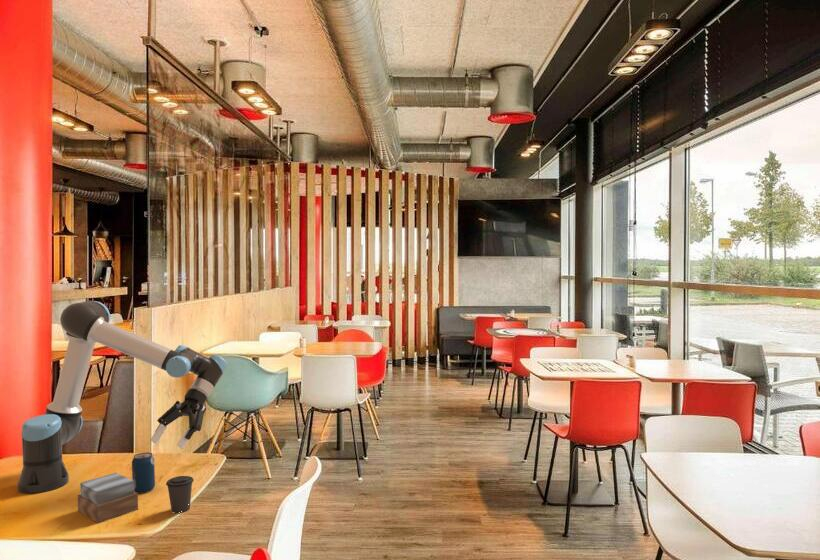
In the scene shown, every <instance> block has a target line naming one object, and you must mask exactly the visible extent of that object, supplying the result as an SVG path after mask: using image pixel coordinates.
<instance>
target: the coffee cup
mask: <svg viewBox="0 0 820 560" xmlns="http://www.w3.org/2000/svg"><path fill="white" fill-rule="evenodd" d="M194 481H195V479H194V478H193V477H192V476H191V475H179V476H175V477H172V478H170V479H168V480H167V481H166V482H165V483H166V484H165V485H166V486H167V490H168V491H167V492H168V496H169V497H168V498H169V505H170V511H171V512H175V513H174V514H182V513H186V512H188V511H190V509H191V499H192V498H191V497H192V491H193V490H192V487H193V482H194ZM188 504H189V505H188ZM181 511H182V512H181ZM179 512H180V513H179Z"/></svg>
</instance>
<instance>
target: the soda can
mask: <svg viewBox="0 0 820 560" xmlns="http://www.w3.org/2000/svg"><path fill="white" fill-rule="evenodd" d="M155 472H156V471H155V458H154V456H153V453H151V452H140V453H137V454H134V456H133V458H132V461H131V480H133V481H134V492H135V493H137V494H146V493H149V492H152V490H153V489H154V488H155V485H156V479H155V478H156V477H155V476H156V475H155V474H156V473H155Z"/></svg>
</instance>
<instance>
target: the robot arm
mask: <svg viewBox="0 0 820 560" xmlns="http://www.w3.org/2000/svg"><path fill="white" fill-rule="evenodd" d="M110 319H111V314H110V310H109V309H108V307H107V306H106V305H105V304H103V303H102V302H100V301H96V300H85V301H82V302H75V303H71V304H69V305H67V306H65V308H64V309H63V310H62V312H61V314H60V319H59V320H60V321H59V322H60V324H61V328H62V329H63V330H64V331H65V336H66V337H67V338H68V339H69V340H68V344H67V347H66V351H65V355H64V358H63V363H62V367H61V370H60V375H59V378H58V381H57V382H58V383H57V386H56V389H55V393H54V397H53V400H52V402H50V403H49V404H47V405H46V409H45V413H44V414H41V415H36V416H33V417H31V418H29V419H27V420H26V421H24V422H23V423H22V427H21V431H20V437H21V446H22V447H21V448H22V469H21V471H20V475H19V478H18V480H17V481H18V482H17V491H18V492H19V493H23V494H37V493H43V492H49V491H52V490H56V489H58V488H60V487H64V486H65V485H67V484H68V483H69V482H70V481H69V479H70V474H69V471H68V470H67V468H66V465H65V463H64V460H63V445H65V444H66V443H68V442H69V441H71V440H72V439H74V438H75V437H76V436H77V435H78V434H79V433H80V432H81V429H82V427H83V423H84V422H83V420H84V419H83V416H82V412H83V408H82V406H81V405H80V401H81V399H82V398H81V397H82V395H83V391H84V387H85V383H86V379H87V375H88V371H89V368H90V364H91V360H92V357H93V353H94V348H95V345H96V344H97V343H98V344H101V345H103V346H105V347H108V348H111V349H113V350H115V351H117V352H120V353H123V354H124V355H128V356H129V357H132V358H135V359H137V360H140V361H141V362H144V363H147V364H148V365H152V366H153V367H156V368H159V369H161V370H163V371H165V372H166V373H167V374H168V375H169V376H170V377H172V378H175V379H176V378H181V377H184V376H186V375H187V374H188V373H189V372H190V373H192V374H194V375H196V376H197V377H196V378H195V379H194V381H193V382H192V384H191V385H190V388H188V390H187V392H186V393H185V395H184V400H183V401H182V402H180V401H179V400H177V401H176V402H174V403H173V405H171V407H170V408H169V409H168V410H166V411H165V412H164V413H163V414H162V415H161V416H160V417H158V419H157V422H158V423H159V425H158V426H157V428H156V429H155V432H154V434H153V435H152V436H151V437H150V442H152V443H153V444H156V445H157V443H158V442H159V440H160V439H161V438H162V436H163V434H164V433H165V431H166V430H167V426H168V425H170V424H172V423H173V422H174V421H176V420H177V419H179V418H180V417H183V416H184V417H188V428H186V429H185V431H184V432H183V434H182V435H181V436H180V439H179V440H178V442H177V444H176V446H178V447H179V449H180V450H183V449H184V448H185V447H186V445H187V443H188V441H189V440H190V439H191V438H192V437H193V435H194V433H196V432H197V431H198V432H200V431H201V430H202V425H203V419H204V415H205V413H206V411H207V407H206V406H204V405H205V403H206V401H207V400H208V398H209V396H210V395H211V393H212V392H213V390H214V388H215V386H216V385H217V384H218V382H219V381H220V379H221V377H222V375H223V374H224V373H225V371H226V368H227V366H228V362H227V361H226V360H225V359H224V358H223V357H222V356H220V355H217V354H211V355H210V356H209V357H208V356H205V355H203V354H201V353H199V352H197V351H195V350H194V349H192V348H190V347H188V346H186V345H184V344H180V345H178V346H177V347H176V348H175V349H174V350H173V349H171V348H168V347H166V346H164V345H161V344H159V343H157V342H155V341H152V340H150V339H148V338H145V337H143V336H141V335H138V334H136V333H133V332H131V331H129V330H126V329H124V328H122V327H119V326H117V325H115V324H112V323H110Z"/></svg>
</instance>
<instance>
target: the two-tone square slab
mask: <svg viewBox="0 0 820 560" xmlns="http://www.w3.org/2000/svg"><path fill="white" fill-rule="evenodd" d="M79 484H80V494H78V495H77V512H79V513H80V512H81V514H82V513H83V514H82V515H83V516H85V515H86V517H87V516H88V517H87V518H89V519H90V518H91V521H93V522H95V521H96V523H97V524H101V523H104V522H106V521H109V520H111V519H115V518H117V517H118V518H119V517H122V516H123V515H126V514H128V513H129V514H130V513H132V512H135V511H138V510H139V498H138V497H139V496H138V495H139V493H136V492H135V491H134V481H133V480H132V478H129V477H127V476H125V475H122V474H120V473H119V472H112V473H110V474H106V475H103V476H99V477H97V478H92V479H90V480H86V481H83V482H79ZM108 519H109V520H108ZM105 520H106V521H105Z"/></svg>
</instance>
